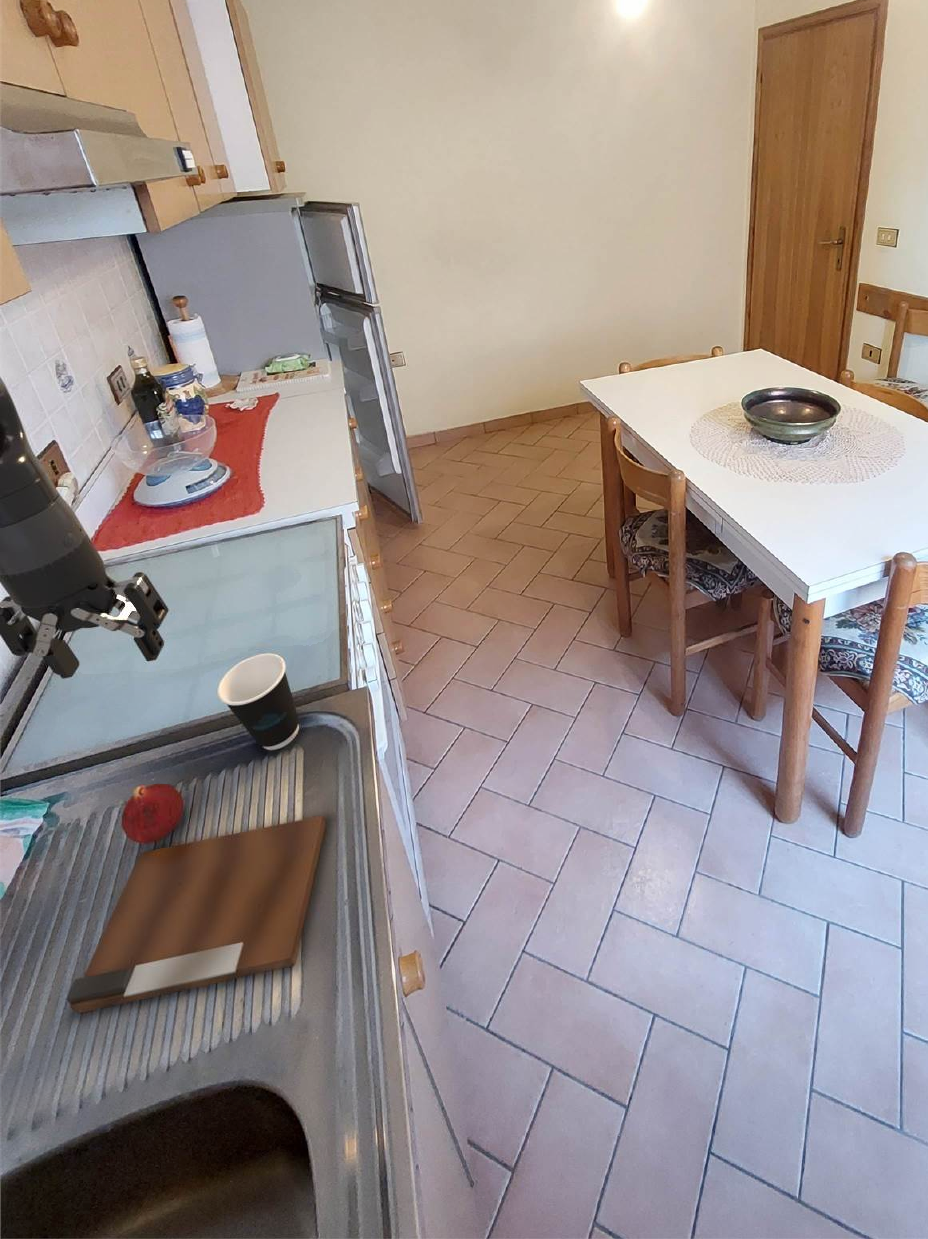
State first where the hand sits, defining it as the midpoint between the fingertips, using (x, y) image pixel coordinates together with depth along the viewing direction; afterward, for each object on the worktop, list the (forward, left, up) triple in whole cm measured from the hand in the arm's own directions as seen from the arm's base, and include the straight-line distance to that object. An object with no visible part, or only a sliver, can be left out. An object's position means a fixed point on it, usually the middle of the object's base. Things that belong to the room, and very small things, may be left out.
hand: (114, 663), depth 70 cm
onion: (-1, -6, -22) cm, 23 cm away
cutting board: (+8, -16, -22) cm, 28 cm away
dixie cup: (+9, +5, -22) cm, 24 cm away
